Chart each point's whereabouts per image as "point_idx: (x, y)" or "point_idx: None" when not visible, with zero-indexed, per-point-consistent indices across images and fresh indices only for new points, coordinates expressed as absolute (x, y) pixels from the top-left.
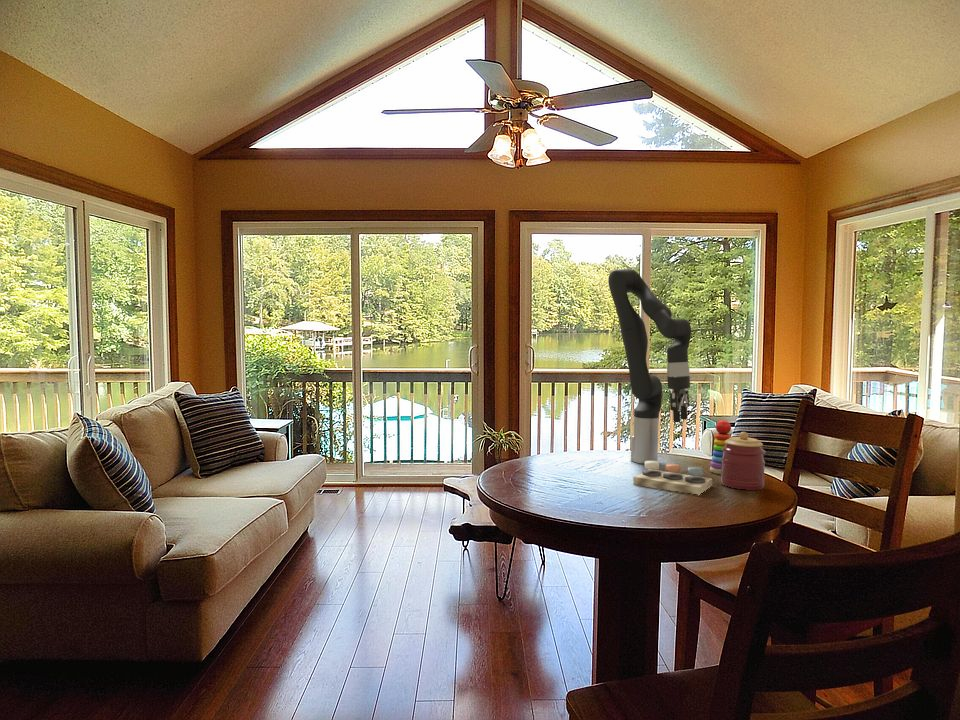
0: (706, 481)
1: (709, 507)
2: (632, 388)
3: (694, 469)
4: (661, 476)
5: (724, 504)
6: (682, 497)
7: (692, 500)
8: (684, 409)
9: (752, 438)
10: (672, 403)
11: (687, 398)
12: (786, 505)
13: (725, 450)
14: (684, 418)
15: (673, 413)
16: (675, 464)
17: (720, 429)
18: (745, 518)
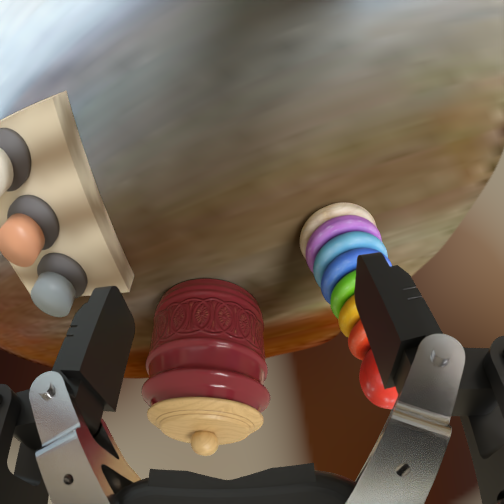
0: (88, 292)
1: (12, 316)
2: None
3: (38, 304)
4: (15, 193)
5: (45, 327)
6: (2, 268)
7: (8, 287)
8: (388, 372)
9: (239, 438)
10: (4, 461)
11: (480, 482)
12: (138, 377)
13: (145, 383)
14: (358, 288)
15: (67, 355)
16: (27, 248)
17: (360, 371)
18: (28, 354)
